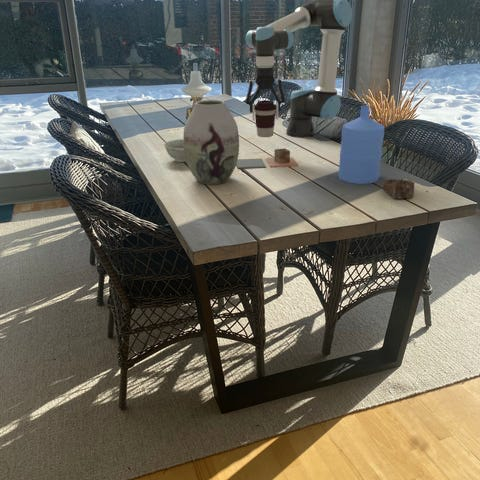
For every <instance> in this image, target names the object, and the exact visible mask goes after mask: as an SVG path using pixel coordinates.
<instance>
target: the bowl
mask: <svg viewBox="0 0 480 480" xmlns="http://www.w3.org/2000/svg"><path fill="white" fill-rule="evenodd" d="M163 146H164V148H165V150H166V153H167V154H168V155H169V156H170V158H172V159H174V161H175V162H178V163H187V161H186V158H185V153H184V145H183V138H182V139H181V138H180V139H172V140H168V141H165V142H164V143H163Z"/></svg>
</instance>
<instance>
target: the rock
mask: <svg viewBox="0 0 480 480" xmlns="http://www.w3.org/2000/svg"><path fill="white" fill-rule="evenodd" d="M382 189H383V191H385V192H386V193H388V194H390V196H392V197H393V199H398V200H399V199H400V200H401V199H412V198H413V197H414V194H415V182H414V181H413V180H408V179H394V178H392V179H384V183H383V187H382Z"/></svg>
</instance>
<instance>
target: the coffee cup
mask: <svg viewBox="0 0 480 480" xmlns="http://www.w3.org/2000/svg"><path fill="white" fill-rule="evenodd" d="M254 112H255V127H256V135H257V137H260V138H271V137H273V136H274V129H275V128H274V127H275V123H276V122H275V121H276V103H274V101H272V100H270V99H269V100H259V101H257V103H256V104H254Z"/></svg>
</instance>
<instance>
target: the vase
mask: <svg viewBox="0 0 480 480" xmlns="http://www.w3.org/2000/svg"><path fill="white" fill-rule="evenodd" d="M183 127H184V128H183V138H182V139H183V145H184V153H185V158H186V161H187V162H186V164H187V167H188V169H189V170H190V171H189V172H190V173H191V175H192V176H193V177H194V178H195V180H197V182H198V183H201V184H203V185H208V186H209V185H211V186H213V185H215V186H216V185H220V184H223V183H226V182H227V181H228V180H229V179H230V177H231V176H232V175H233V173H234V170H235V169H236V168H237V166H236V164H237V160H238V159H239V153H240V135H239V129H238V124H237V121H236V120H235V118H234V117H233V115H232V113H231V112H230V110H229V109H228V106H227V104H226V102H225V101H224V100H221V99H203V100H202V99H201V100H197V101H195V102H194V105H193V108H192V111H191V112H190V114H189V116H188V117H187V119H186V121H185V123H184V126H183Z"/></svg>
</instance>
